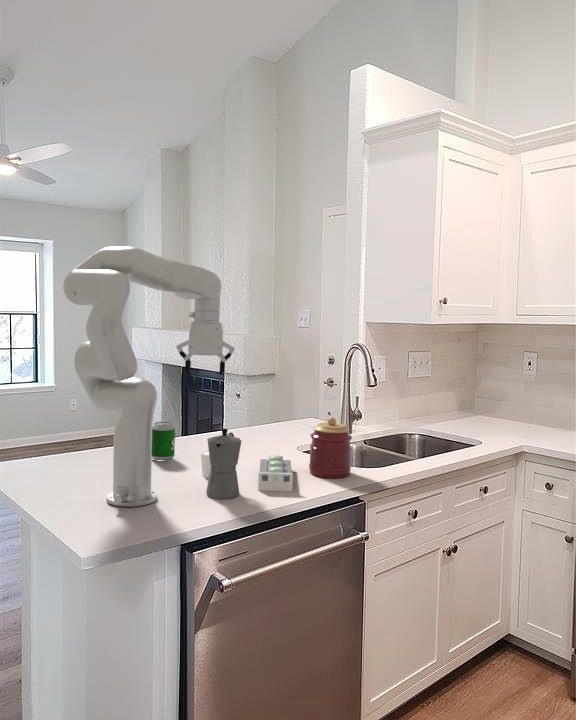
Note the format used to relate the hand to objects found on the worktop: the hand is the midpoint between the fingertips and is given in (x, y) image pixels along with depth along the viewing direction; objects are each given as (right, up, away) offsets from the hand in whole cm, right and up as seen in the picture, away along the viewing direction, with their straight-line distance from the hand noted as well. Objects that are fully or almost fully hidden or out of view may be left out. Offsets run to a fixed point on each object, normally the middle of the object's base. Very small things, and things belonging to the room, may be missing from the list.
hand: (204, 374), depth 183 cm
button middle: (+21, -29, -2) cm, 36 cm away
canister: (+38, -31, +7) cm, 50 cm away
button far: (+21, -28, +5) cm, 36 cm away
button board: (+21, -31, -1) cm, 38 cm away
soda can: (-16, -29, +17) cm, 37 cm away
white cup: (+2, -31, 0) cm, 31 cm away
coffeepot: (+7, -32, -17) cm, 37 cm away
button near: (+21, -30, -9) cm, 38 cm away
